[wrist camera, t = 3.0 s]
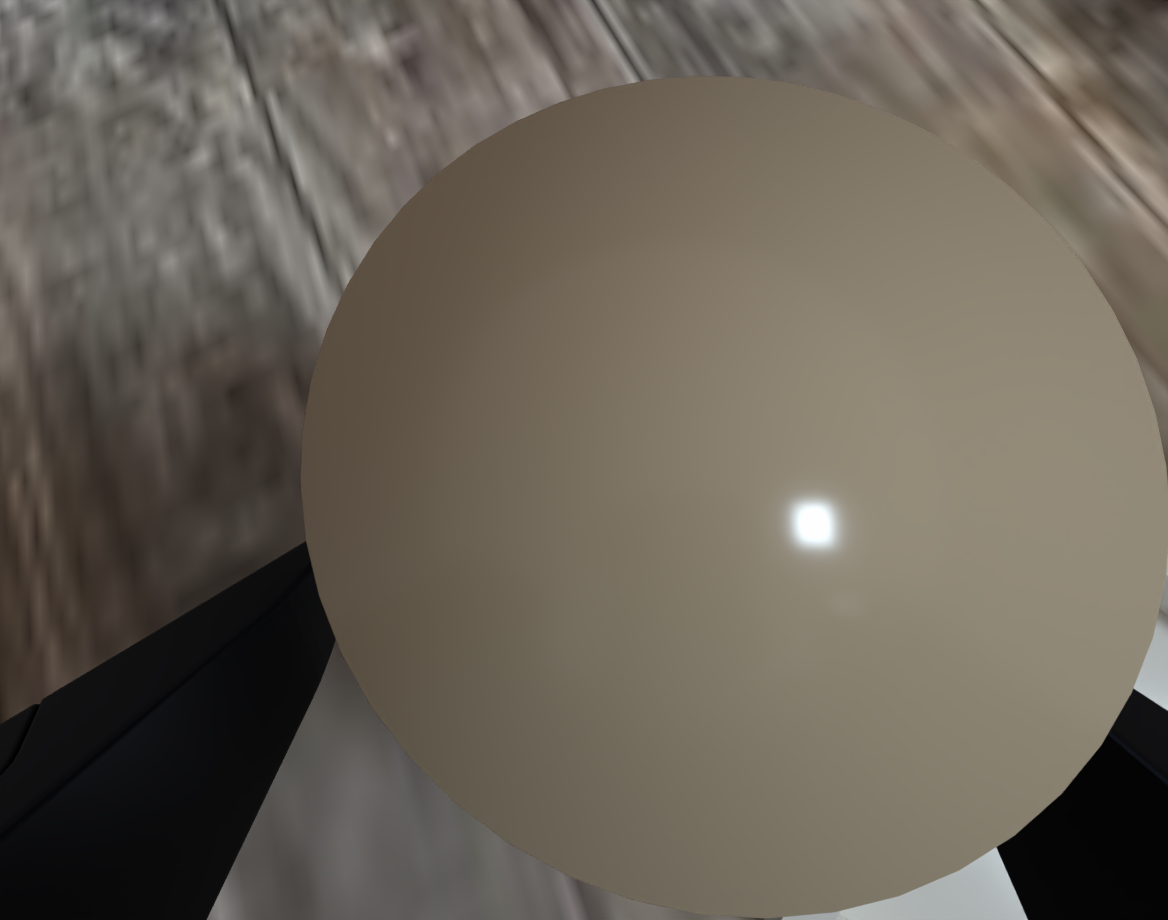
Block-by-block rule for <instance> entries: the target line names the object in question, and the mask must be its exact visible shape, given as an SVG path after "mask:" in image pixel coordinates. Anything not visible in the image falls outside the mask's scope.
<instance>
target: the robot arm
mask: <svg viewBox="0 0 1168 920" xmlns="http://www.w3.org/2000/svg"><path fill="white" fill-rule="evenodd" d="M335 641H336V638H335V636H334V633H333V630H332V628H331V625H330V623H329V620H328V618H327V615H326V612H325V610H324V607H323V605H322V602H321V599H320V597H319V593H318V589H317V585H316V580H315V576H314V572H313V568H312V563H311V559H310V555H309V551H308V547H307V542H306V541H305V542H304V543H302V544H300V545H299V546H297V547H295V548H294V549H292V550H290V551H289V552H287V553H285V554H284V555H282V556H280V557H279V558H277V559H275V560H274V561H272V562H270V563H269V564H267V565H265V566H264V567H262V568H260V569H259V570H257V571H255V572H254V573H252V574H250V575H249V576H247V577H245V578H244V579H242V580H240V581H239V582H237V583H235V584H234V585H232V586H230V587H229V588H227V589H225V590H224V591H222V592H220V593H219V594H217V595H215V596H214V597H212V598H210V599H209V600H207V601H205V602H204V603H202V604H200V605H199V606H197V607H195V608H194V609H192V610H190V611H189V612H187V613H185V614H184V615H182V616H180V617H179V618H177V619H175V620H174V621H172V622H170V623H169V624H167V625H165V626H164V627H162V628H160V629H159V630H157V631H155V632H154V633H152V634H150V635H149V636H147V637H145V638H144V639H142V640H140V641H139V642H137V643H135V644H134V645H132V646H130V647H129V648H127V649H125V650H124V651H122V652H120V653H119V654H117V655H115V656H114V657H112V658H110V659H109V660H107V661H105V662H104V663H102V664H100V665H99V666H97V667H95V668H94V669H92V670H90V671H89V672H87V673H85V674H84V675H82V676H80V677H79V678H77V679H75V680H74V681H72V682H70V683H69V684H67V685H65V686H64V687H62V688H60V689H59V690H57V691H55V692H54V693H52V694H50V695H49V696H47V697H45V698H44V699H43V700H42V701H41V703H40V704H34V705H32V706H30V707H28V708H27V709H25V710H24V711H22V712H20V713H19V714H17V715H15V716H14V717H12V718H10V719H9V720H7V721H5V722H4V723H2V724H0V920H207V918H208V915H209V913H210V911H211V909H212V907H213V905H214V903H215V901H216V899H217V897H218V895H219V893H220V891H221V888H222V886H223V884H224V882H225V880H226V878H227V876H228V874H229V872H230V870H231V868H232V866H233V863H234V861H235V859H236V857H237V855H238V853H239V851H240V849H241V847H242V845H243V843H244V841H245V838H246V836H247V834H248V832H249V830H250V828H251V826H252V824H253V822H254V820H255V818H256V816H257V813H258V811H259V809H260V807H261V805H262V803H263V801H264V799H265V797H266V795H267V793H268V791H269V789H270V786H271V784H272V782H273V780H274V778H275V776H276V774H277V772H278V770H279V768H280V766H281V764H282V761H283V759H284V757H285V755H286V753H287V751H288V749H289V747H290V745H291V743H292V741H293V739H294V736H295V734H296V732H297V730H298V728H299V726H300V724H301V722H302V720H303V718H304V716H305V714H306V711H307V709H308V707H309V705H310V703H311V701H312V699H313V697H314V695H315V692H316V690H317V688H318V686H319V684H320V681H321V679H322V676H323V674H324V671H325V669H326V666H327V663H328V660H329V658H330V655H331V652H332V649H333V646H334V643H335ZM996 848H997V850H998V853H999V855H1000V857H1001V860H1002V862H1003V864H1004V866H1005V869H1006V871H1007V873H1008V876H1009V878H1010V880H1011V883H1012V885H1013V887H1014V889H1015V892H1016V894H1017V896H1018V899H1019V901H1020V903H1021V905H1022V908H1023V910H1024V912H1025V915H1026V917H1027V919H1028V920H1168V710H1166V709H1165V708H1163V707H1161V706H1160V705H1158V704H1157V703H1155V702H1154V701H1152V700H1151V699H1149V698H1148V697H1146V696H1145V695H1143V694H1142V693H1140V692H1138V691H1137V690H1135V689H1134V688H1133V690H1132V693H1131V695H1130V696H1129V698H1128V700H1127V702H1126V703H1125V705H1124V707H1123V708H1122V710H1121V712H1120V714H1119V715H1118V717H1117V719H1116V721H1115V722H1114V724H1113V726H1112V727H1111V729H1110V731H1109V733H1108V734H1107V736H1106V738H1105V740H1104V741H1103V743H1102V745H1101V746H1100V747H1099V749H1098V750H1097V751H1096V752H1095V753H1094V755H1093V756H1092V757H1091V758H1090V760H1089V761H1088V762H1087V763H1086V765H1085V766H1084V767H1083V768H1082V769H1081V771H1080V772H1079V773H1078V774H1077V776H1076V777H1075V778H1074V779H1073V780H1072V782H1071V783H1070V784H1069V785H1068V787H1067V788H1066V789H1065V790H1064V791H1063V793H1062V794H1061V795H1060V796H1058V797H1057V798H1056V799H1055V800H1054V801H1053V802H1052V803H1051V804H1049V805H1048V806H1047V807H1046V808H1045V809H1044V810H1043V811H1042V812H1040V813H1039V814H1038V815H1037V816H1036V817H1035V818H1034V819H1033V820H1031V821H1030V822H1029V823H1028V824H1027V825H1026V826H1025V827H1024V828H1022V829H1021V830H1020V831H1019V832H1018V833H1017V834H1016V835H1015V836H1013V837H1011V838H1010V839H1008V840H1007V841H1005V842H1004V843H1002V844H1000V845H999V846H997V847H996Z"/></svg>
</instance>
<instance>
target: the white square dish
mask: <svg viewBox="0 0 1168 920" xmlns="http://www.w3.org/2000/svg"><path fill="white" fill-rule="evenodd" d="M1134 689H1135V690H1137V691H1138V692H1140V693H1142V694H1143V695H1145V696H1146V697H1148V698H1149V699H1151V700H1152V701H1154V702H1155V703H1157V704H1158V705H1160V706H1161V707H1163V708H1165V709H1166V710H1168V558H1167V571H1166V582H1165V586H1164V591H1163V595H1162V600H1161V604H1160V609H1159V613H1158V618H1157V622H1156V627H1155V631H1154V636H1153V639H1152V641H1151V644H1150V647H1149V649H1148V652H1147V654H1146V657H1145V660H1144V662H1143V665H1142V667H1141V670H1140V672H1139V675H1138V678H1137V680H1136V683H1135V685H1134ZM763 919H764V920H1028V919H1027V917H1026V915H1025V912H1024V910H1023V908H1022V905H1021V903H1020V901H1019V899H1018V896H1017V894H1016V892H1015V889H1014V887H1013V885H1012V883H1011V880H1010V878H1009V876H1008V873H1007V871H1006V869H1005V866H1004V864H1003V862H1002V860H1001V857H1000V855H999V853H998V850H997V848H994V849H992V850H991V851H989V852H988V853H986V854H985V855H983V856H981V857H980V858H978V859H977V860H975V861H974V862H972V863H970V864H969V865H967V866H966V867H964V868H962V869H961V870H959V871H957V872H954V873H952V874H950V875H947V876H945V877H943V878H940V879H938V880H936V881H933V882H931V883H929V884H926V885H924V886H922V887H919V888H917V889H915V890H912V891H910V892H908V893H905V894H903V895H901V896H898V897H894V898H890V899H886V900H882V901H878V902H874V903H870V904H866V905H862V906H858V907H854V908H850V909H846V910H842V911H838V912H833V913H822V914H811V915H800V916H789V917H778V918H763Z"/></svg>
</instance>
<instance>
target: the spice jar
mask: <svg viewBox="0 0 1168 920" xmlns="http://www.w3.org/2000/svg"><path fill="white" fill-rule="evenodd" d="M301 495H302V505H303V515H304V525H305V536H306V542H307V547H308V551H309V555H310V559H311V563H312V568H313V572H314V576H315V580H316V585H317V589H318V593H319V597H320V599H321V602H322V605H323V607H324V610H325V612H326V615H327V618H328V620H329V623H330V625H331V628H332V630H333V633H334V636H335V638H336V641H337V643H338V646H339V649H340V651H341V653H342V655H343V657H344V659H345V660H346V662H347V664H348V666H349V668H350V669H351V671H352V673H353V675H354V677H355V678H356V680H357V682H358V684H359V686H360V687H361V689H362V691H363V693H364V695H365V696H366V698H367V700H368V702H369V704H370V705H371V707H372V708H373V710H374V711H375V712H376V714H377V715H378V716H379V718H380V719H381V720H382V722H383V723H384V724H385V725H386V727H387V728H388V729H389V731H390V732H391V733H392V735H393V736H394V737H395V739H396V740H397V741H398V743H399V744H400V745H401V747H402V748H403V749H404V751H405V752H406V753H407V755H408V756H409V757H410V758H411V759H412V760H413V761H414V762H415V763H416V764H417V765H418V766H419V767H420V768H421V769H422V770H423V771H424V772H425V773H426V774H427V775H428V776H429V777H430V778H431V779H432V780H433V781H434V782H435V783H436V784H437V785H438V786H439V787H440V788H441V789H442V790H443V791H444V792H445V793H446V794H447V795H448V796H449V797H450V798H451V799H452V800H453V801H454V802H455V803H456V804H457V805H458V806H460V807H461V808H462V809H464V810H465V811H466V812H468V813H469V814H470V815H472V816H473V817H474V818H476V819H477V820H478V821H480V822H481V823H482V824H484V825H485V826H486V827H488V828H489V829H490V830H492V831H493V832H494V833H496V834H497V835H498V836H500V837H501V838H502V839H504V840H505V841H506V842H508V843H509V844H511V845H513V846H515V847H516V848H518V849H520V850H522V851H524V852H525V853H527V854H529V855H531V856H533V857H534V858H536V859H538V860H540V861H542V862H544V863H545V864H547V865H549V866H551V867H553V868H554V869H556V870H558V871H560V872H562V873H564V874H565V875H567V876H570V877H572V878H575V879H578V880H580V881H583V882H586V883H588V884H591V885H594V886H596V887H599V888H602V889H604V890H607V891H610V892H612V893H615V894H618V895H620V896H623V897H625V898H628V899H631V900H635V901H640V902H644V903H649V904H653V905H658V906H663V907H667V908H672V909H677V910H681V911H686V912H691V913H695V914H703V915H719V916H735V917H751V918H778V917H789V916H800V915H811V914H822V913H833V912H838V911H842V910H846V909H850V908H854V907H858V906H862V905H866V904H870V903H874V902H878V901H882V900H886V899H890V898H894V897H898V896H901V895H903V894H905V893H908V892H910V891H912V890H915V889H917V888H919V887H922V886H924V885H926V884H929V883H931V882H933V881H936V880H938V879H940V878H943V877H945V876H947V875H950V874H952V873H954V872H957V871H959V870H961V869H962V868H964V867H966V866H967V865H969V864H970V863H972V862H974V861H975V860H977V859H978V858H980V857H981V856H983V855H985V854H986V853H988V852H989V851H991V850H992V849H994V848H996V847H997V846H999V845H1000V844H1002V843H1004V842H1005V841H1007V840H1008V839H1010V838H1011V837H1013V836H1015V835H1016V834H1017V833H1018V832H1019V831H1020V830H1021V829H1022V828H1024V827H1025V826H1026V825H1027V824H1028V823H1029V822H1030V821H1031V820H1033V819H1034V818H1035V817H1036V816H1037V815H1038V814H1039V813H1040V812H1042V811H1043V810H1044V809H1045V808H1046V807H1047V806H1048V805H1049V804H1051V803H1052V802H1053V801H1054V800H1055V799H1056V798H1057V797H1058V796H1060V795H1061V794H1062V793H1063V791H1064V790H1065V789H1066V788H1067V787H1068V785H1069V784H1070V783H1071V782H1072V780H1073V779H1074V778H1075V777H1076V776H1077V774H1078V773H1079V772H1080V771H1081V769H1082V768H1083V767H1084V766H1085V765H1086V763H1087V762H1088V761H1089V760H1090V758H1091V757H1092V756H1093V755H1094V753H1095V752H1096V751H1097V750H1098V749H1099V747H1100V746H1101V745H1102V743H1103V741H1104V740H1105V738H1106V736H1107V734H1108V733H1109V731H1110V729H1111V727H1112V726H1113V724H1114V722H1115V721H1116V719H1117V717H1118V715H1119V714H1120V712H1121V710H1122V708H1123V707H1124V705H1125V703H1126V702H1127V700H1128V698H1129V696H1130V695H1131V693H1132V690H1133V688H1134V685H1135V683H1136V680H1137V678H1138V675H1139V672H1140V670H1141V667H1142V665H1143V662H1144V660H1145V657H1146V654H1147V652H1148V649H1149V647H1150V644H1151V641H1152V639H1153V636H1154V631H1155V627H1156V622H1157V618H1158V613H1159V609H1160V604H1161V600H1162V595H1163V591H1164V586H1165V582H1166V571H1167V558H1168V485H1167V471H1166V463H1165V458H1164V453H1163V448H1162V443H1161V438H1160V433H1159V429H1158V424H1157V419H1156V414H1155V410H1154V407H1153V404H1152V401H1151V398H1150V396H1149V393H1148V390H1147V387H1146V384H1145V381H1144V378H1143V375H1142V372H1141V370H1140V367H1139V364H1138V361H1137V358H1136V356H1135V354H1134V352H1133V350H1132V348H1131V346H1130V344H1129V342H1128V340H1127V338H1126V336H1125V334H1124V332H1123V330H1122V328H1121V326H1120V324H1119V322H1118V320H1117V318H1116V316H1115V314H1114V312H1113V310H1112V308H1111V307H1110V305H1109V304H1108V302H1107V301H1106V299H1105V297H1104V296H1103V294H1102V293H1101V291H1100V290H1099V288H1098V287H1097V285H1096V284H1095V282H1094V281H1093V279H1092V278H1091V276H1090V274H1089V273H1088V271H1087V270H1086V268H1085V267H1084V265H1083V264H1082V263H1081V262H1080V261H1079V259H1078V258H1077V257H1076V256H1075V255H1074V253H1073V252H1072V251H1071V250H1070V249H1069V247H1068V246H1067V245H1066V244H1065V242H1064V241H1063V240H1062V239H1061V238H1060V236H1059V235H1058V234H1057V233H1056V232H1055V230H1054V229H1053V228H1052V227H1051V226H1050V225H1049V224H1048V223H1047V222H1046V221H1045V220H1044V219H1043V218H1042V217H1041V216H1040V215H1039V214H1038V213H1037V212H1036V211H1035V210H1034V209H1033V208H1032V207H1031V206H1030V205H1029V204H1028V203H1026V202H1025V201H1024V200H1023V199H1022V198H1021V197H1020V196H1019V195H1018V194H1017V193H1016V192H1015V191H1014V190H1013V189H1012V188H1010V187H1009V186H1008V185H1006V184H1005V183H1004V182H1003V181H1001V180H1000V179H999V178H997V177H996V176H995V175H993V174H992V173H991V172H990V171H988V170H987V169H986V168H984V167H983V166H982V165H980V164H979V163H978V162H977V161H975V160H974V159H973V158H971V157H969V156H968V155H966V154H965V153H963V152H961V151H960V150H958V149H956V148H955V147H953V146H951V145H950V144H948V143H947V142H945V141H943V140H942V139H940V138H938V137H937V136H935V135H934V134H932V133H930V132H928V131H926V130H924V129H922V128H920V127H918V126H916V125H914V124H911V123H909V122H907V121H905V120H903V119H901V118H899V117H897V116H895V115H892V114H890V113H888V112H886V111H884V110H881V109H878V108H875V107H872V106H870V105H867V104H864V103H861V102H858V101H855V100H853V99H850V98H847V97H844V96H841V95H838V94H834V93H830V92H826V91H821V90H817V89H813V88H809V87H805V86H800V85H796V84H792V83H785V82H777V81H769V80H762V79H754V78H746V77H714V76H692V77H679V78H667V79H655V80H647V81H642V82H636V83H631V84H626V85H621V86H616V87H610V88H605V89H602V90H598V91H595V92H592V93H589V94H585V95H582V96H579V97H576V98H572V99H569V100H566V101H563V102H559V103H557V104H555V105H552V106H550V107H548V108H546V109H543V110H541V111H539V112H536V113H534V114H532V115H530V116H527V117H525V118H523V119H520V120H518V121H516V122H514V123H513V124H511V125H509V126H507V127H506V128H504V129H502V130H500V131H499V132H497V133H495V134H494V135H492V136H490V137H488V138H487V139H485V140H483V141H481V142H480V143H478V144H476V145H475V146H474V147H472V148H471V149H470V150H468V151H467V152H466V153H464V154H463V155H462V156H460V157H459V158H458V159H456V160H455V161H454V162H452V163H451V164H450V165H448V166H447V167H446V168H444V169H443V170H442V171H440V172H439V173H438V174H437V175H436V176H435V177H434V178H433V179H431V180H430V181H429V182H428V183H427V184H426V185H425V186H424V187H423V188H422V189H421V190H420V191H419V192H418V193H417V194H416V195H415V196H414V197H413V198H412V199H410V200H409V201H408V202H407V203H406V204H405V205H404V206H403V208H402V209H401V210H400V211H399V212H398V214H397V215H396V216H395V217H394V219H393V220H392V221H391V222H390V223H389V225H388V226H387V227H386V228H385V230H384V231H383V232H382V233H381V234H380V236H379V237H378V238H377V239H376V241H375V242H374V243H373V245H372V246H371V248H370V249H369V251H368V253H367V254H366V256H365V257H364V259H363V261H362V262H361V264H360V265H359V267H358V269H357V270H356V272H355V273H354V275H353V277H352V278H351V280H350V281H349V283H348V285H347V287H346V289H345V291H344V293H343V295H342V298H341V300H340V302H339V304H338V306H337V308H336V311H335V313H334V315H333V317H332V319H331V321H330V324H329V326H328V328H327V330H326V334H325V337H324V340H323V343H322V346H321V349H320V353H319V356H318V359H317V362H316V365H315V369H314V372H313V375H312V378H311V384H310V390H309V396H308V401H307V407H306V413H305V419H304V425H303V431H302V458H301Z"/></svg>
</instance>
